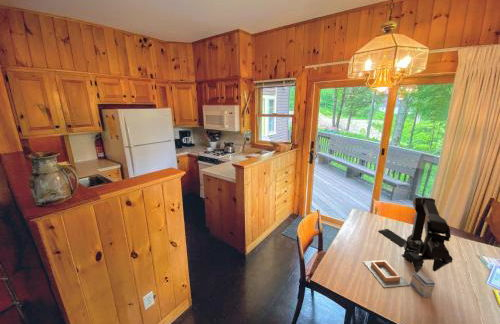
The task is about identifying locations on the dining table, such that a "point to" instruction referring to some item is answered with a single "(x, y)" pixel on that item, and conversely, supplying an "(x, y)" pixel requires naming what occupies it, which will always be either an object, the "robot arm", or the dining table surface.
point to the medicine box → (422, 284)
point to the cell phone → (393, 237)
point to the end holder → (385, 273)
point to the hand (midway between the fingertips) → (424, 271)
